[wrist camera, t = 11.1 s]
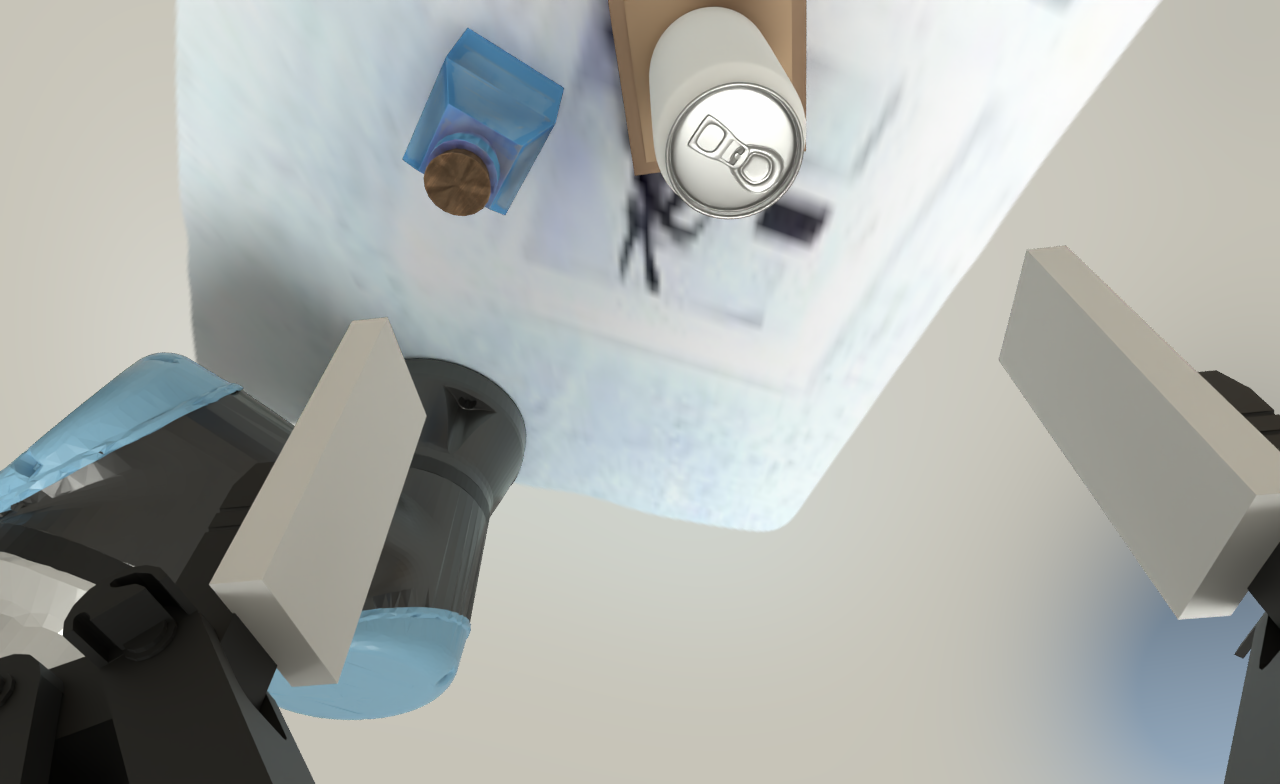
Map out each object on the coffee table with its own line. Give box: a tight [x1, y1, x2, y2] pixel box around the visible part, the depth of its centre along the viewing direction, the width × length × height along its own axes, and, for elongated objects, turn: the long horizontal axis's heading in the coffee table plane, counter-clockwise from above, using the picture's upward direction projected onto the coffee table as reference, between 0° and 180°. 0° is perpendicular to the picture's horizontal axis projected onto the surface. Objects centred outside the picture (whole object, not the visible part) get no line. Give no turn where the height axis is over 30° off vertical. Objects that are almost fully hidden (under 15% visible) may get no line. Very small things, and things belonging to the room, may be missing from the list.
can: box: [649, 7, 806, 219], centre depth 33 cm, size 6×6×12 cm
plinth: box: [608, 0, 806, 176], centre depth 40 cm, size 10×10×4 cm
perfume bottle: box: [402, 28, 564, 216], centre depth 39 cm, size 6×6×12 cm
